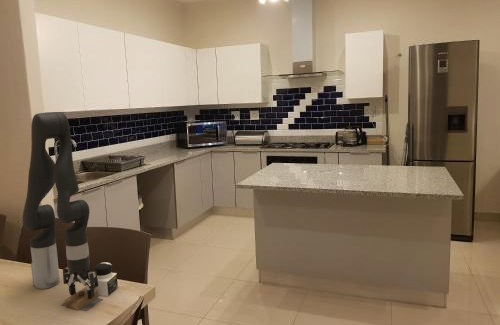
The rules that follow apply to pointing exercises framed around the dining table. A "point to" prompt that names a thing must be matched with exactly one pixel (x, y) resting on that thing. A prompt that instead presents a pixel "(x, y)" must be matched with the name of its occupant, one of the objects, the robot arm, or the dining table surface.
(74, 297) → the lid
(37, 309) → the dining table surface
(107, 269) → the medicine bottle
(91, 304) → the mat
